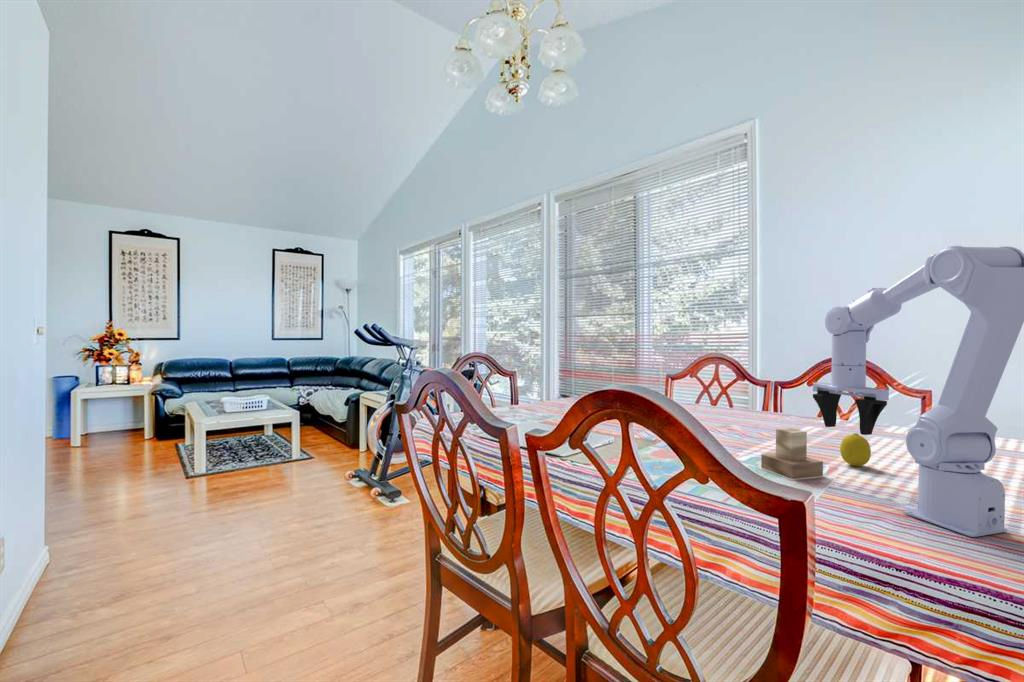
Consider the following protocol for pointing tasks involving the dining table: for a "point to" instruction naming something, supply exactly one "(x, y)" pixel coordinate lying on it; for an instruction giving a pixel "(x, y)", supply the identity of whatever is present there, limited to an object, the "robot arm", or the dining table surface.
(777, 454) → the maple pillar
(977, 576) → the dining table surface
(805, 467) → the walnut slab
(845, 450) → the lemon
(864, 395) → the robot arm
